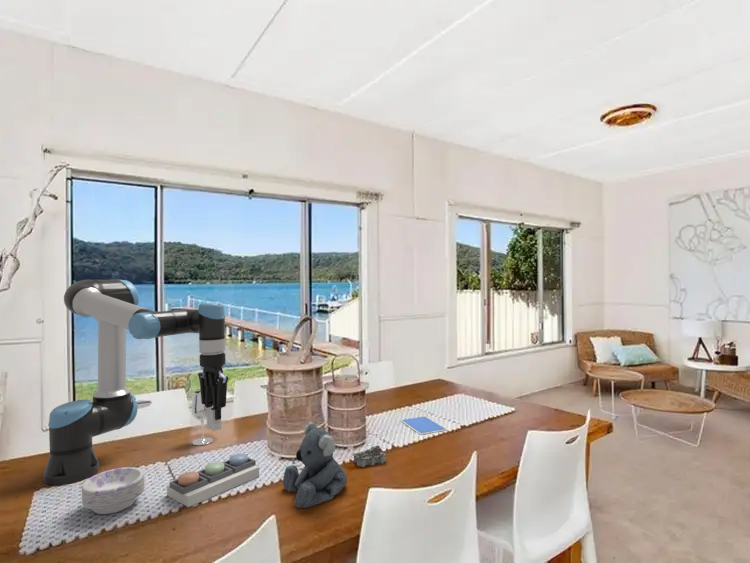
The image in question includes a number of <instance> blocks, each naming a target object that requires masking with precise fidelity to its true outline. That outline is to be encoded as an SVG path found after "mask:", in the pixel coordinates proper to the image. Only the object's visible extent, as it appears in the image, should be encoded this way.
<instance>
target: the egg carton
mask: <svg viewBox="0 0 750 563" xmlns="http://www.w3.org/2000/svg"><path fill="white" fill-rule="evenodd" d="M352 456H353V463H356V465H357V467H362V468H364V467H366V466H368V465H370V466H374V465H375V464H384V462H386V456H387V454H386V453H385V452H384V451H383V449H382V448H381V447H380V445H375V446H374V445H373V446H372V447H370V448H368V449H366V450H363V451H359V452H355V453H352Z"/></svg>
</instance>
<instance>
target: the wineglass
mask: <svg viewBox="0 0 750 563" xmlns="http://www.w3.org/2000/svg"><path fill="white" fill-rule="evenodd" d="M190 410H191V415H192V417H193V418H194V419H195V420H197V421H200V424H201V437H200V438H197V439H195V440H193V441H192V445H193V446H205V445H208V444H211V443H213V441H214V439H213V438H211V437H205V435H204V434H205V432H204V422H205V421H207V416H206V407H205V404H202V401H201V390H200V389H199V390H196V391H194V392H193V396H192V403H191V409H190Z"/></svg>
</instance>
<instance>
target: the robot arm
mask: <svg viewBox="0 0 750 563" xmlns="http://www.w3.org/2000/svg"><path fill="white" fill-rule="evenodd" d="M139 301H140V297H139V292H138V289H137V288H136V287H135V285H134V284H133V283H132V282H131V281H129V280H127V279H117V278H114V279H82V280H79V281H76V282H74V283H72V284H71V285H70V286H68V288H67V289H66V290H65V292H64V295H63V302H64V303H63V304H64V305H65V308H66V309H67V310H68V311H70V312H71V313H73V314H75V315H77V316H80V317H85V318H88V317H92V318H93V319H94V320H95V321H97V322H98V323H97V324H98V325H97V326H98V327H97V328H98V329H97V330H98V332H97V334H98V335H97V336H98V337H97V339H98V340H97V342H98V344H97V345H98V346H97V389H96V391H95V392H93V394H92V401H91V399H78V400H72V401H67V402H66V403H65V402H64V403H62V404H61V405H57V406H56V407H55V408H53V409H52V410H51V411H50V413H49V419H48V423H47V424H48V430H49V433H48V434H49V436H48V437H49V439H48V440H49V456H48V459H47V463H46V465H45V468H44V471H43V475H42V476H43V477H42V478H43V483H44V484H45V485H50V486H58V485H59V486H60V485H67V484H72V483H76V482H80V481H82V480H86V479H89V478H91V477H92V476H94V475H96V473H97V474H98V472H99V470H100V462H99V459H98V456H97V455H96V453H95V450H94V448H93V438H94V437H96V436H97V437H98V436H100V435H103V434H106V433H109V432H112V431H116V430H120V429H122V428H125V427H126V426H129V425H131V424H132V422H134V421H135V419H136V417H137V413H138V410H139V409H138V407H139V406H138V405H139V404H138V401H137V400H136V399H137V398H136V396H135V395H134V394H133V393H131V390H130V389H129V388H128V387H127V386H126V385H127V384H126V382H127V381H126V380H127V378H126V377H127V376H126V370H127V367H126V366H127V357H126V356H127V330H128V332H129V334H131V335H132V337H133V338H135V339H136V340H150V339H155V338H161V337H162V338H163V337H169V336H175V335H183V334H198V335H199V336H198V340H199V341H198V344H199V345H198V349H199V351H198V352H199V353H200V354H199V367H201V368H203V369H202V372H198V373H197V376H198V379H199V387H200V388H199V390H201V401H202V404H205V407H206V416H207V419H206V429H207V430H210V429H211V431H212V432H215V431H219V430H221V429H222V408H226V406H227V392H228V391H227V390H228V382H229V375H224V369H223V366H224V365H226V362H227V361H226V353H225V351H226V340H225V338H226V327H225V326H226V314H225V305H224V304H223V303H221V302H203V303H200V304H198V309H192V308H191V309H189V308H180V309H179V308H178V309H174V310H173V309H172V310H161V311H159V310H158V311H155V310H152V309H148V308H145V307H142V306H139V303H140V302H139Z"/></svg>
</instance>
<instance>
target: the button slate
mask: <svg viewBox="0 0 750 563" xmlns="http://www.w3.org/2000/svg"><path fill="white" fill-rule="evenodd" d="M247 457H248V454H246V453H236V454H232V455H231V456H229V459H228V460H229V463H230V465H231V466H240V465H243V464H246V463H247V462H248V458H249V457H248V458H247Z"/></svg>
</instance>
